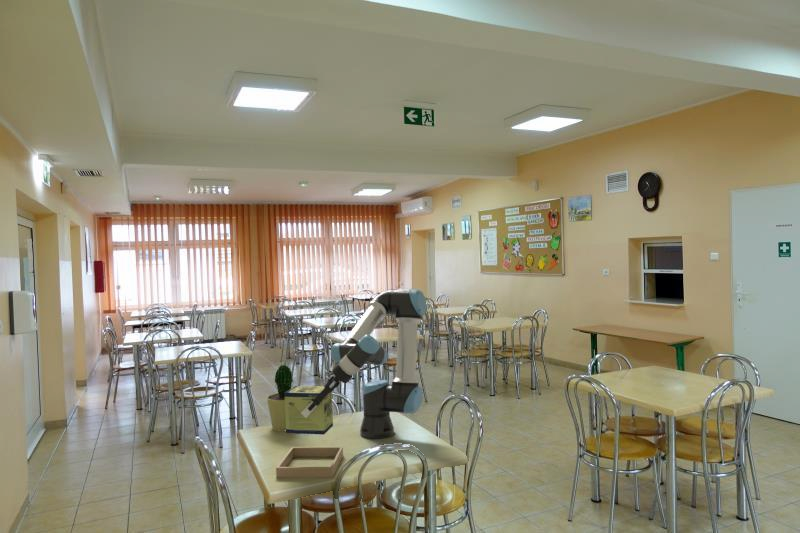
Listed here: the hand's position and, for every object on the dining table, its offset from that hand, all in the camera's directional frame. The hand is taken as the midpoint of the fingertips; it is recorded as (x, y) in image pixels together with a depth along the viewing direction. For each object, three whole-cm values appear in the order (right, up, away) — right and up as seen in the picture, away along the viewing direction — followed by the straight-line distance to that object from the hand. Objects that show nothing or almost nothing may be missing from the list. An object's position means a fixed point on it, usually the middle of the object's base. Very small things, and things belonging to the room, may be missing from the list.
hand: (307, 410), depth 207 cm
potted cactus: (-19, -21, +50) cm, 58 cm away
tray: (+1, -21, +1) cm, 21 cm away
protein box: (+1, -7, 0) cm, 8 cm away
